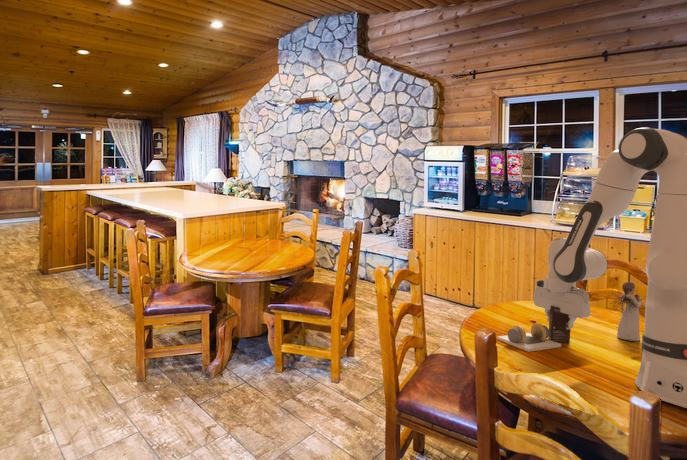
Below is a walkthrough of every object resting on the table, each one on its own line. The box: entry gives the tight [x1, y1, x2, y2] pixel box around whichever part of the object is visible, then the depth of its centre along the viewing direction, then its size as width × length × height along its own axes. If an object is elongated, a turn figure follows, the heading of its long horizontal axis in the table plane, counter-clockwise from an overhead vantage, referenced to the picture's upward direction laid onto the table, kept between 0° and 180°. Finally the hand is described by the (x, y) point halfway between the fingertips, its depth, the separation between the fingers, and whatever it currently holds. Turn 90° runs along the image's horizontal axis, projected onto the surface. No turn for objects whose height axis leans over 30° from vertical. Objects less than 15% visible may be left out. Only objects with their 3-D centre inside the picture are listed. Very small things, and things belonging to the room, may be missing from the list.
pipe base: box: [496, 323, 562, 353], centre depth 146 cm, size 14×14×6 cm
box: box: [548, 306, 572, 344], centre depth 149 cm, size 6×4×12 cm
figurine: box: [610, 281, 643, 342], centre depth 152 cm, size 10×10×20 cm
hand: (559, 324), depth 149 cm, fingers closed on box, 6 cm apart
